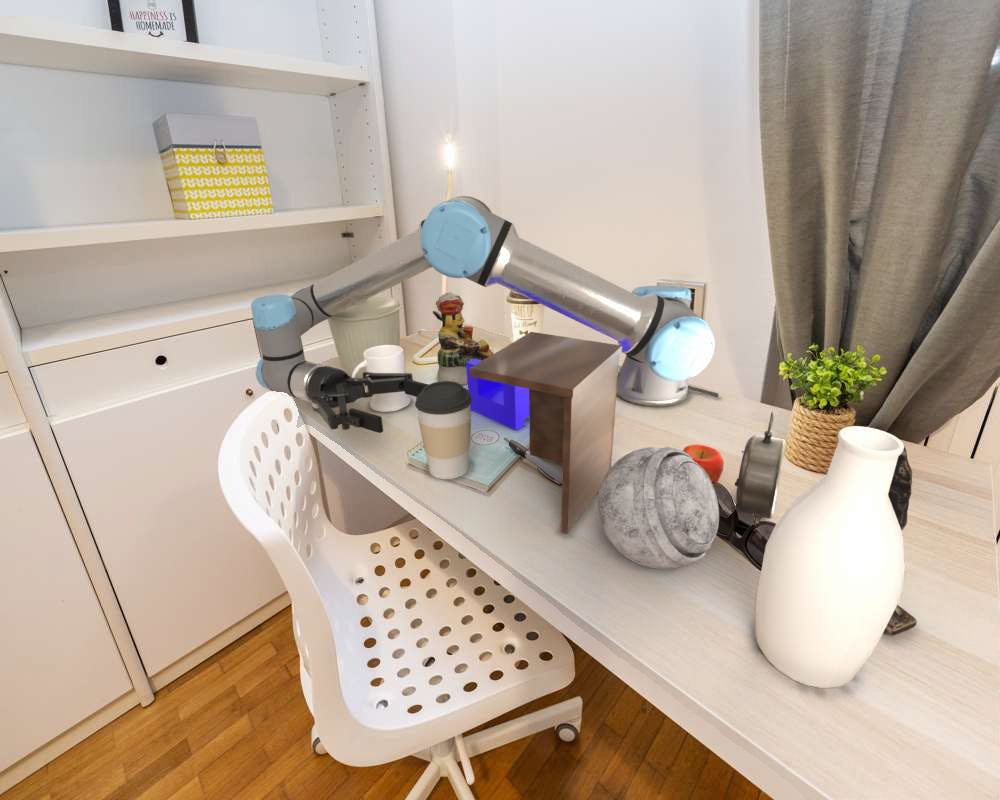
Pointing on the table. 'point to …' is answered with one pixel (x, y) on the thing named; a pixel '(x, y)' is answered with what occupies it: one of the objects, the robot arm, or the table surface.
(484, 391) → the blue hollow box
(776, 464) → the alarm clock
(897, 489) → the statue
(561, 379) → the cubby
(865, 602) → the bottle
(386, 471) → the table surface
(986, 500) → the table surface
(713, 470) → the apple
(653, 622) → the table surface
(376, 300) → the canister
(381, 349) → the mug
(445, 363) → the figurine
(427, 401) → the coffee cup
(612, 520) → the decorative orb
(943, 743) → the table surface
